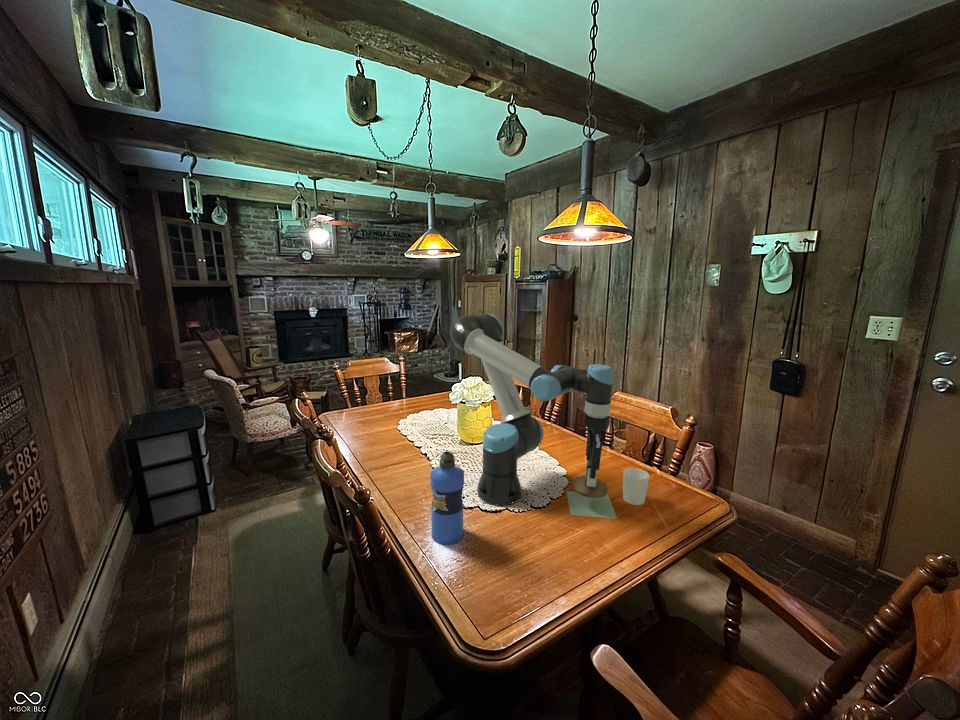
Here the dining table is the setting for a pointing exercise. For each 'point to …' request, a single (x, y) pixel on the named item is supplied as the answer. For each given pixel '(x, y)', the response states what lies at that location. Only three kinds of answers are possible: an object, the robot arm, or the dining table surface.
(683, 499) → the dining table surface
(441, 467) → the water bottle
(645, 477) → the white cup
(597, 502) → the mat
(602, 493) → the lid
